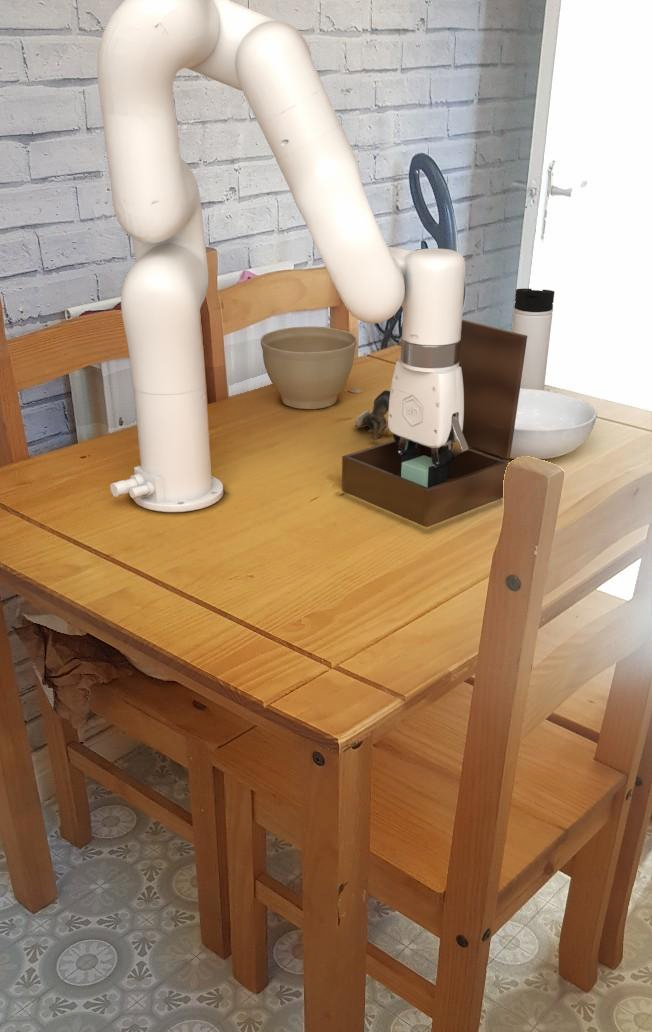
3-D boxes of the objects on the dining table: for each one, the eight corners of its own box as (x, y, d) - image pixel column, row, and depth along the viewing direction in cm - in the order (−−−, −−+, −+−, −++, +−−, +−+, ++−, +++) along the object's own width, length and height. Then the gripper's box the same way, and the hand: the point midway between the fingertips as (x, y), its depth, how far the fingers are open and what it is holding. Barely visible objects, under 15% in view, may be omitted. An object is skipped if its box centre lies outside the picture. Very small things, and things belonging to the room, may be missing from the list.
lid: (523, 336, 131) (550, 331, 134) (430, 312, 142) (456, 309, 145) (506, 459, 139) (531, 452, 142) (419, 428, 150) (444, 422, 153)
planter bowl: (244, 400, 181) (241, 336, 175) (315, 382, 189) (315, 321, 184) (301, 423, 170) (301, 356, 164) (374, 403, 179) (376, 339, 173)
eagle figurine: (411, 435, 162) (402, 407, 168) (388, 401, 157) (380, 374, 164) (369, 460, 164) (362, 431, 170) (346, 427, 160) (340, 399, 166)
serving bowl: (620, 460, 156) (627, 416, 152) (507, 485, 147) (512, 438, 144) (534, 421, 171) (538, 379, 168) (427, 441, 163) (430, 398, 159)
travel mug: (501, 413, 175) (513, 289, 164) (507, 401, 180) (518, 281, 169) (538, 416, 173) (552, 292, 162) (543, 404, 178) (557, 283, 168)
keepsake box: (426, 532, 134) (428, 490, 131) (341, 495, 144) (342, 456, 141) (504, 501, 143) (508, 461, 140) (418, 468, 153) (420, 431, 150)
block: (423, 502, 140) (424, 471, 138) (400, 492, 143) (401, 462, 141) (445, 494, 143) (447, 463, 141) (422, 484, 146) (424, 455, 143)
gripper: (364, 345, 136) (361, 476, 146) (459, 372, 125) (449, 512, 135) (404, 335, 140) (399, 463, 150) (499, 361, 130) (487, 498, 139)
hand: (423, 485), depth 143 cm, fingers closed on block, 4 cm apart
